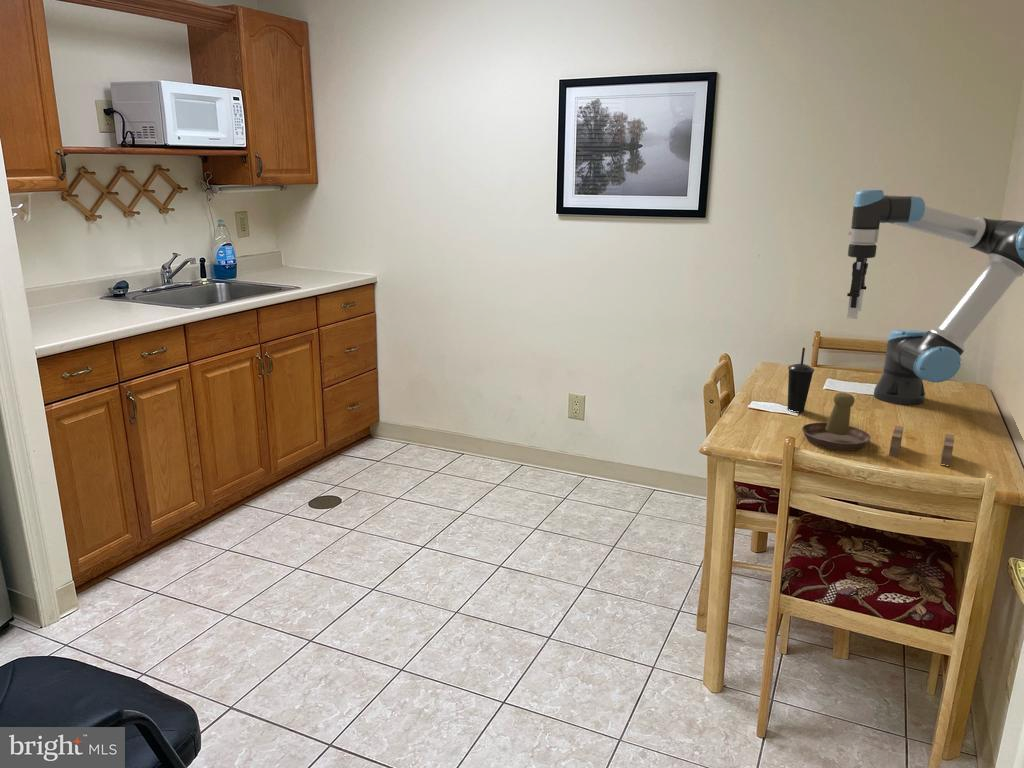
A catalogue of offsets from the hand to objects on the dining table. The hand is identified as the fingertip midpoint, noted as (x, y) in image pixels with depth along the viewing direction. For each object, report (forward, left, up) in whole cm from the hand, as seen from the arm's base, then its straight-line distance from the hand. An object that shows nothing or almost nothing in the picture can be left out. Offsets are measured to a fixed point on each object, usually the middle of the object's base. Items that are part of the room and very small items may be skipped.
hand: (854, 314), depth 226 cm
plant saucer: (+14, +27, -31) cm, 44 cm away
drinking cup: (+14, 0, -31) cm, 34 cm away
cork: (+14, +27, -28) cm, 41 cm away
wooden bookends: (-4, +38, -31) cm, 49 cm away
